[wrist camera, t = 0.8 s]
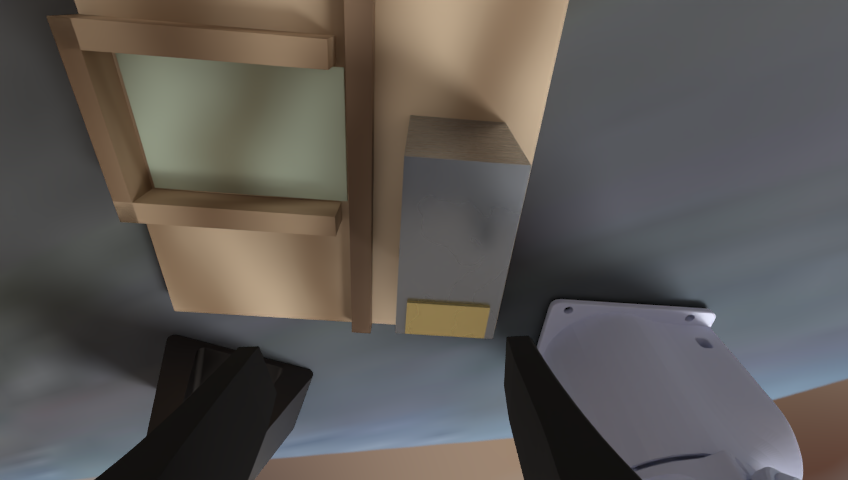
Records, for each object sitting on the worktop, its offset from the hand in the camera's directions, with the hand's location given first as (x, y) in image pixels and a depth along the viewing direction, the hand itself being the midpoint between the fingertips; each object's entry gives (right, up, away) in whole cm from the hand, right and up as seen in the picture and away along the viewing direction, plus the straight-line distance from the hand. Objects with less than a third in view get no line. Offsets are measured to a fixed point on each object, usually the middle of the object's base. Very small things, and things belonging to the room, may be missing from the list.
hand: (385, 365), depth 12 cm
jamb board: (-3, +7, +7) cm, 11 cm away
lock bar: (+2, +6, +7) cm, 9 cm away
